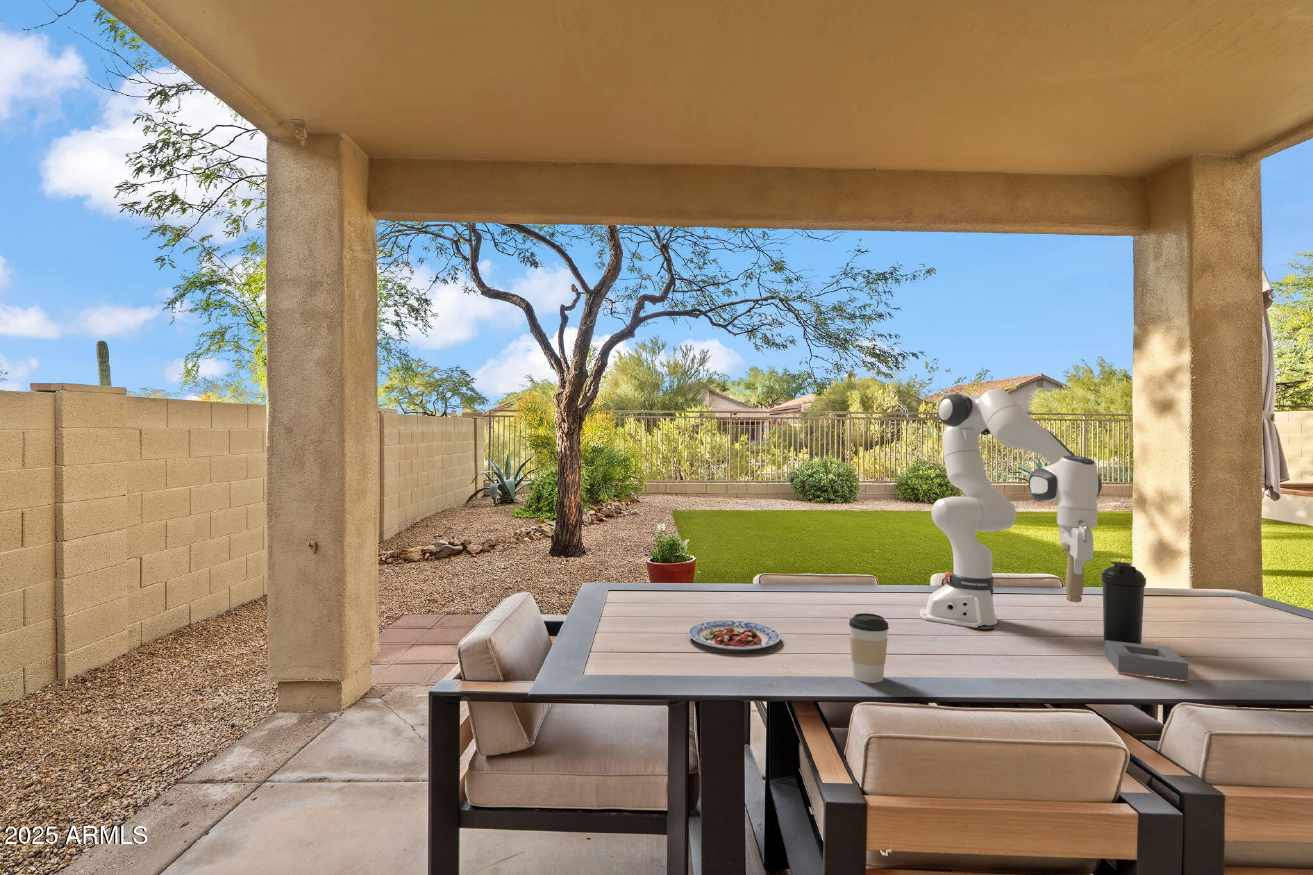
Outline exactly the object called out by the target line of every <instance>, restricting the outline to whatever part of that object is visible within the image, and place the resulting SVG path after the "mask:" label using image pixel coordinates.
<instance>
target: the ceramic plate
mask: <svg viewBox="0 0 1313 875" xmlns="http://www.w3.org/2000/svg"><path fill="white" fill-rule="evenodd" d="M688 636H689V637H690V638H691V639H692V640H693V641H695V642H697V643H699V644H702V645H705V646H707V647H708V646H709V647H713V648H716V649H721V650H727V651H728V650H729V651H749V650H756V649H757V650H758V649H763V648H768V647H771V646H773V645H775V644H777V643H778V642H779V641H780V640H781V636H782V635H781V634H780V633H779V631H778V630H776V629H774V628H772V627H770V626H768V625H765V624H762V623H757V622H752V621H747V620H746V621H744V620H736V619H734V620H733V619H732V620H731V619H727V620H726V619H724V620H723V619H722V620H710V621H705V622H701V623H697V624H696V625H695V624H694V625H693V626H692V627H690V628H689V629H688Z"/></svg>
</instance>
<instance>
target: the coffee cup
mask: <svg viewBox="0 0 1313 875" xmlns="http://www.w3.org/2000/svg"><path fill="white" fill-rule="evenodd" d="M848 626H849V630H850V631H849V632H850V633H849V641H850V642H849V643H850V658H851V659H850V660H851V665H852V667H851V668H852V677H853V679H854V680H856V681H859V682H861V681H862V682H861V683H866V684H878V683H877V682H879V683H882V682H883V681H884V674H885V665H886V658H887V657H886V656H887V649H888V648H887V647H888V631H889V628H890V627H889V623H888V621H887V620H885V618H884V617H883V616H882V615H880V614H875V613H866V612H865V613H863V612H861V613H856V614H854V615H853V617H851V618H850V619H849V623H848ZM881 681H882V682H881Z"/></svg>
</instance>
